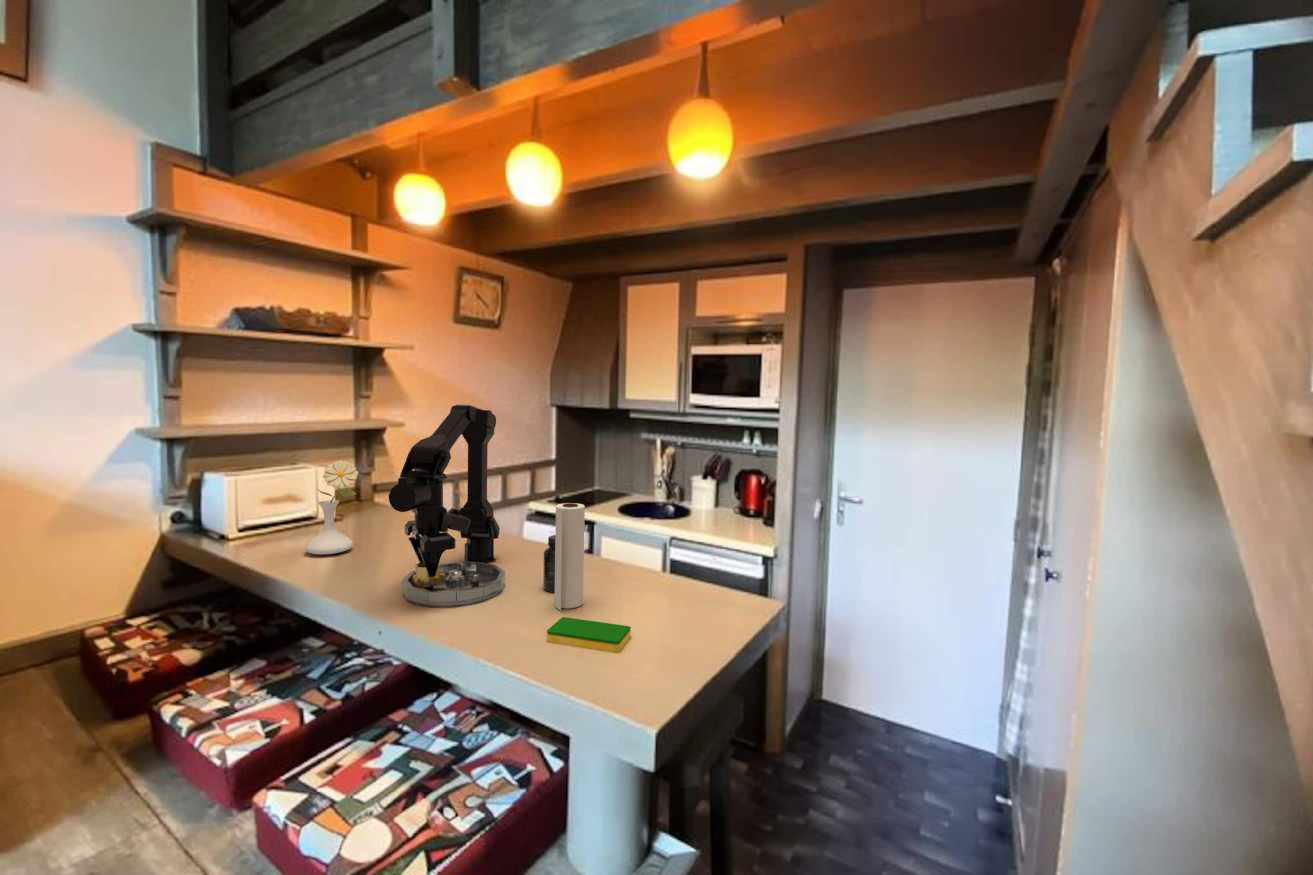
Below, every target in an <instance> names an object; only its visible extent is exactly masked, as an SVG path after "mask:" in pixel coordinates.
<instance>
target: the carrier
mask: <svg viewBox="0 0 1313 875" xmlns="http://www.w3.org/2000/svg"><path fill="white" fill-rule="evenodd" d="M442 571H443V573H445V581H444V582H440V585H437V586H436V585H431V586H429V587H424V586H414V583H413V575H416V569H415V570H413V571H410V572H409V573H408V574H406V576H405V577H404V578H403V579H402V580H401V590H402V591H403V598H404V599H405V601H407V602H409V603H411V604H413V605H415V606H416V605H417V606H420V607H424V608H425V607H427V608H457V607H463V606H469V605H474V604H478V603H482V602H485V601H489V600H491V599H492V598H494V597H497V596H498V595H500V594H501V593H502V591H504V586H505V585H504V584H505V582H506V571H505V570H504V569H503V568H501V567H499V566H498V565H496V564H492V563H488V562H485V563H482V562H468V561H451V562H444V563H443V562H442Z"/></svg>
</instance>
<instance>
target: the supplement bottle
mask: <svg viewBox="0 0 1313 875" xmlns="http://www.w3.org/2000/svg"><path fill="white" fill-rule="evenodd" d="M555 537H556V534H553V535H550V536H548V538H547V539H548V540H547V541H548V542H547V546H548V547H547V548H545V550H544V552H543V574H542V576H543V578H542V579H543V582H542V583H543V589H544V591H546V592H548V593H554V594H555Z"/></svg>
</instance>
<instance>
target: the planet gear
mask: <svg viewBox="0 0 1313 875" xmlns="http://www.w3.org/2000/svg"><path fill="white" fill-rule="evenodd" d="M442 564H443V562H442V561H439V564H438V568H437V571H436V575H435V576H434V577H429V574H428V572H427V570H426V567H425V565H424V562H418V563H416V564H415V570H416V575H413V583H414V586H424V587H429V586H431V585H436V586H437V585H440V582H444V581H445V573H443V571H442Z"/></svg>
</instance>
